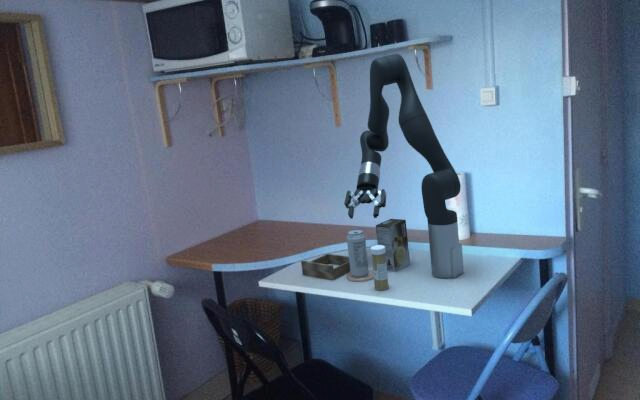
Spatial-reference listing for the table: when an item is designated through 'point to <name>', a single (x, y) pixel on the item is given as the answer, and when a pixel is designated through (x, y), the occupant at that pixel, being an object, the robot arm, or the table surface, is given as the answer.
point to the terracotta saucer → (368, 277)
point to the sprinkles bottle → (379, 267)
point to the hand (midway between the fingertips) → (362, 217)
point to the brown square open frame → (326, 267)
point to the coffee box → (394, 243)
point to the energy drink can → (357, 254)
